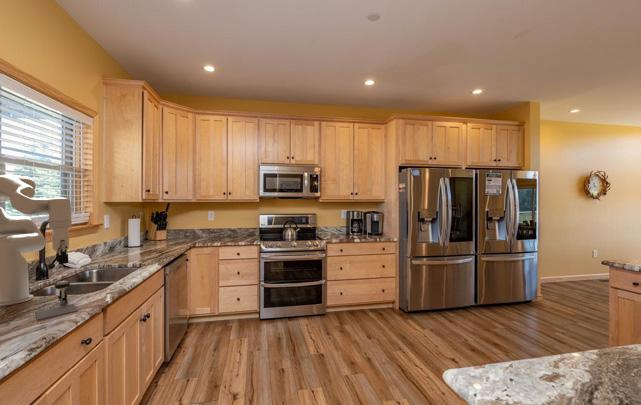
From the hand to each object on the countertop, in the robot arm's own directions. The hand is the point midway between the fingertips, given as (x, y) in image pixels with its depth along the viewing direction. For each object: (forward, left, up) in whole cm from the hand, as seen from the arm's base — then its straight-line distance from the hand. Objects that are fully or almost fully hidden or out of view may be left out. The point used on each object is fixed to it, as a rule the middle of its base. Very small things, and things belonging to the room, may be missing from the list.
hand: (62, 262), depth 127 cm
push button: (0, 0, -19) cm, 19 cm away
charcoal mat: (+12, -3, -19) cm, 22 cm away
